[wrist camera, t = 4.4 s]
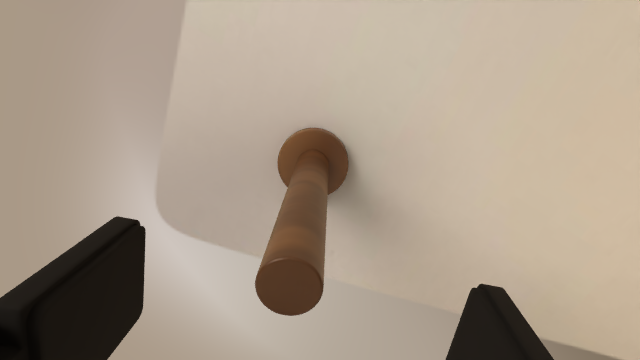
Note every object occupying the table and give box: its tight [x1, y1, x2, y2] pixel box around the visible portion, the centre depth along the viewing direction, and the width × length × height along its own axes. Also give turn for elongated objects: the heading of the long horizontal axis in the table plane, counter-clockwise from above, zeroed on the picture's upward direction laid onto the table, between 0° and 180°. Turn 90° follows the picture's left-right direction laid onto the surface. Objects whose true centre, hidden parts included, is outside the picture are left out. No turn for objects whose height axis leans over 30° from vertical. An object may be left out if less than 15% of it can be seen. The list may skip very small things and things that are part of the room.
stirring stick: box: [255, 128, 348, 316], centre depth 17 cm, size 4×4×14 cm
